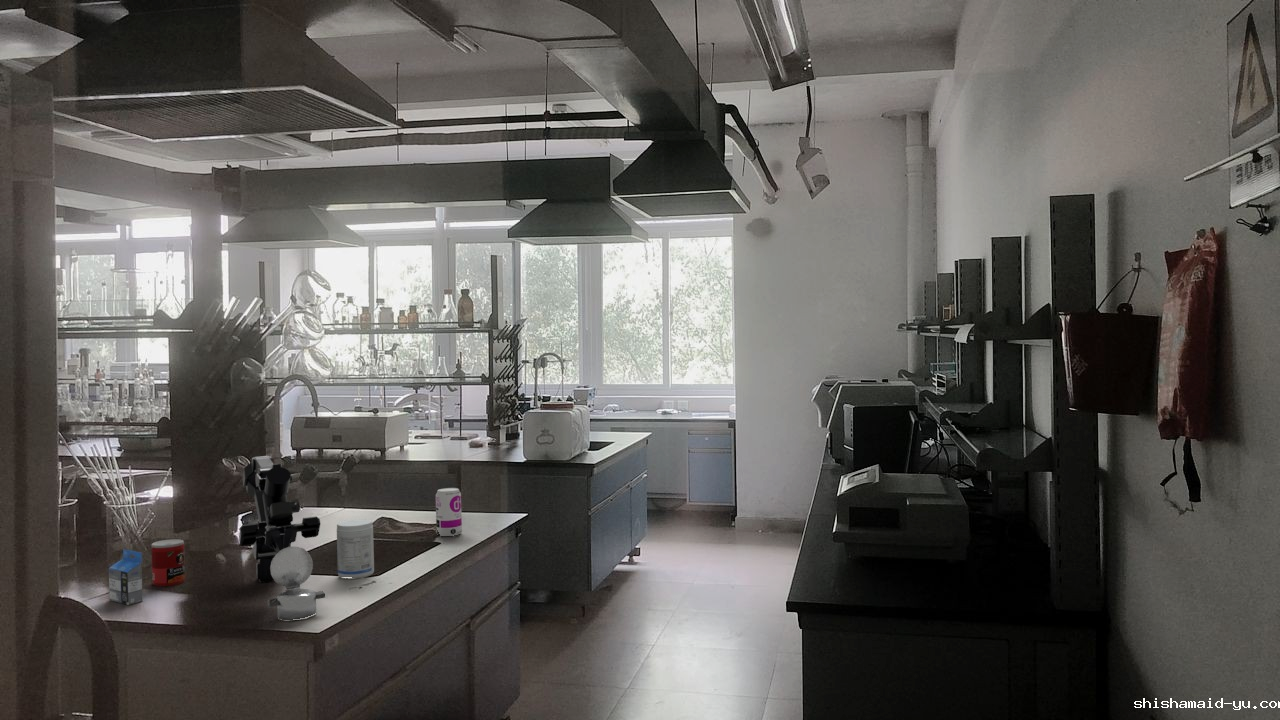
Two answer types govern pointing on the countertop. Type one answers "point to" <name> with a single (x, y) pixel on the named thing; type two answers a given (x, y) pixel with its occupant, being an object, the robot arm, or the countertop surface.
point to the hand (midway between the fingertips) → (284, 558)
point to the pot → (296, 603)
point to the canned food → (168, 562)
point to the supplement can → (448, 511)
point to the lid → (291, 567)
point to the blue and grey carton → (126, 579)
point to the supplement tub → (355, 548)
